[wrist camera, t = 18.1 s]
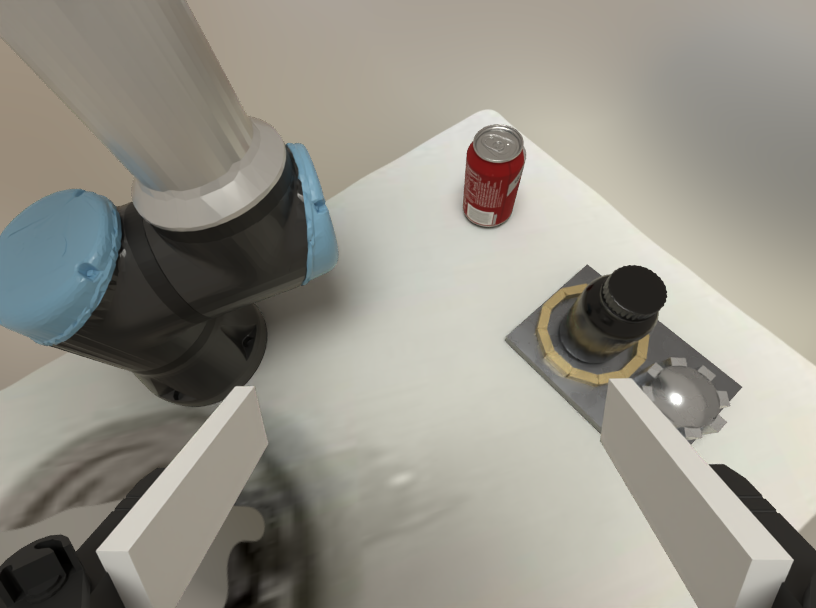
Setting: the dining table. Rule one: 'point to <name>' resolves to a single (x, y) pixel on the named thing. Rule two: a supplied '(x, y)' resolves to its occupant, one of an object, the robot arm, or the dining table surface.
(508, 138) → the soda can
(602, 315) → the supplement bottle
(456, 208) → the dining table surface
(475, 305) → the dining table surface
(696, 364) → the carrier
